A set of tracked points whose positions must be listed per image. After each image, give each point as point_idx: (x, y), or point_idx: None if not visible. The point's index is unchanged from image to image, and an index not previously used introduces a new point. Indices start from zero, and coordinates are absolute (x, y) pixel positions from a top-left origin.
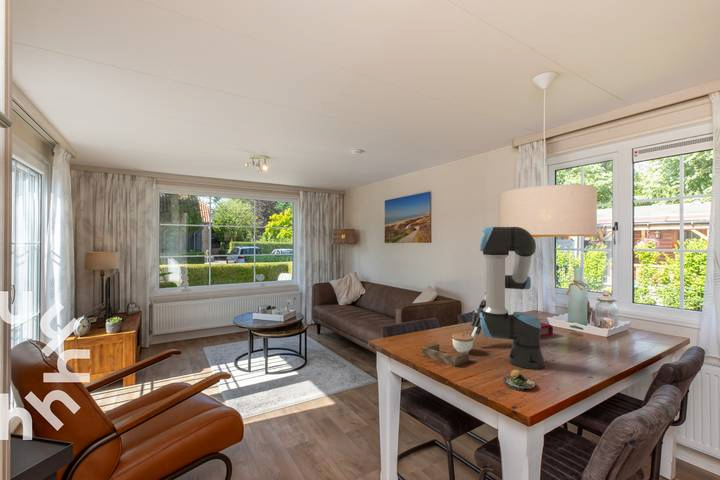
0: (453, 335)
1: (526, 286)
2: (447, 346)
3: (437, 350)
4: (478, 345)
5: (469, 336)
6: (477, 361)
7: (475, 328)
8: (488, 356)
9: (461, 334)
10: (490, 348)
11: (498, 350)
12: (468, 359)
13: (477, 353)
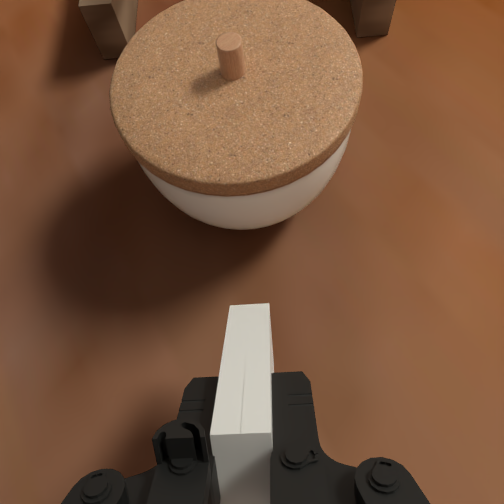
0: (322, 21)
1: None
2: (418, 170)
3: (355, 6)
4: None
5: (167, 115)
6: (53, 88)
7: (243, 402)
8: (26, 232)
9: (285, 107)
10: None
11: (3, 482)
12: (100, 46)
13: (128, 224)
